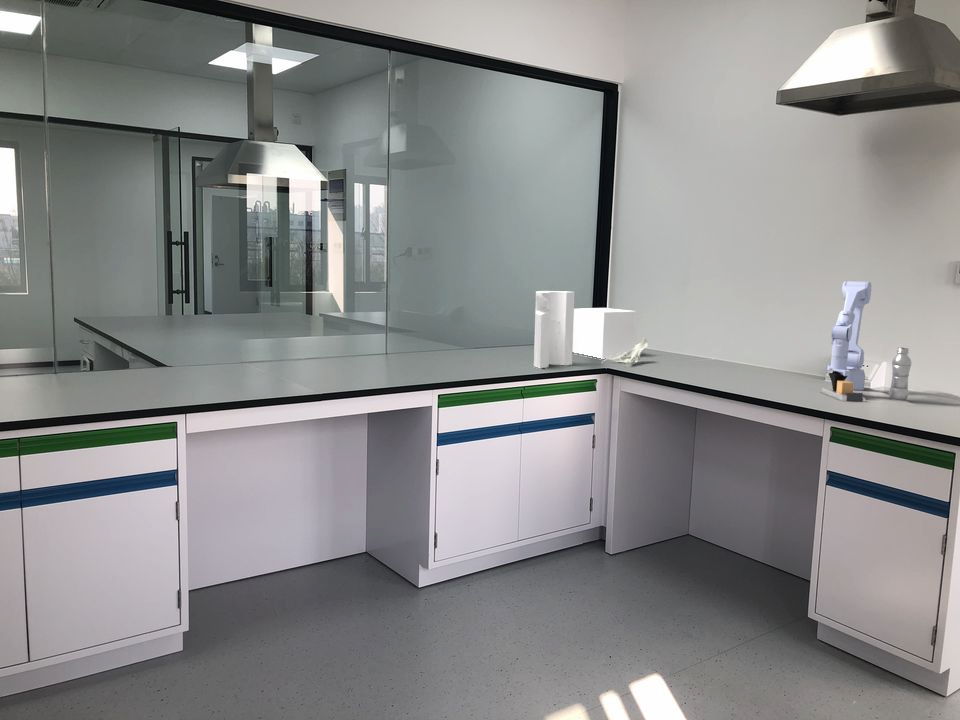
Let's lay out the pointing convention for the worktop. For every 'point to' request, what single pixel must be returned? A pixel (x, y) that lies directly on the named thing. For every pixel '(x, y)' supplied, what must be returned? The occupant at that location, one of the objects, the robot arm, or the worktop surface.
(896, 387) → the plastic bottle
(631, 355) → the skeletal model
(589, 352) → the cube
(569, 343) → the white grooved block
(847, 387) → the block
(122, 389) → the worktop surface
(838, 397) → the mounting plate
